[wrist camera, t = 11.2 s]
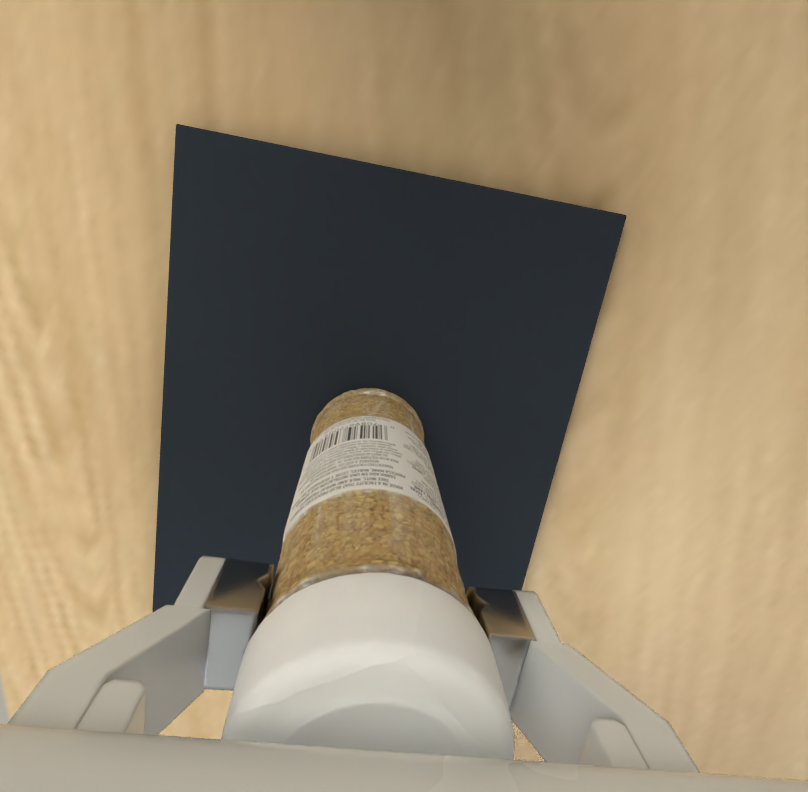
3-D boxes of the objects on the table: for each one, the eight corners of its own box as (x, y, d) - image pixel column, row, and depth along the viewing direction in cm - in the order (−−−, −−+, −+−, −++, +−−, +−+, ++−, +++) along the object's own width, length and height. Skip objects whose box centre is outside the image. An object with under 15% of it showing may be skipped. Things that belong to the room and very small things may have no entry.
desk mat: (182, 127, 17) (175, 123, 17) (619, 216, 19) (627, 215, 18) (157, 613, 23) (151, 623, 22) (499, 646, 24) (502, 656, 24)
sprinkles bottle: (313, 490, 21) (224, 896, 8) (309, 383, 19) (193, 664, 7) (424, 488, 21) (510, 875, 8) (427, 383, 20) (536, 651, 7)
